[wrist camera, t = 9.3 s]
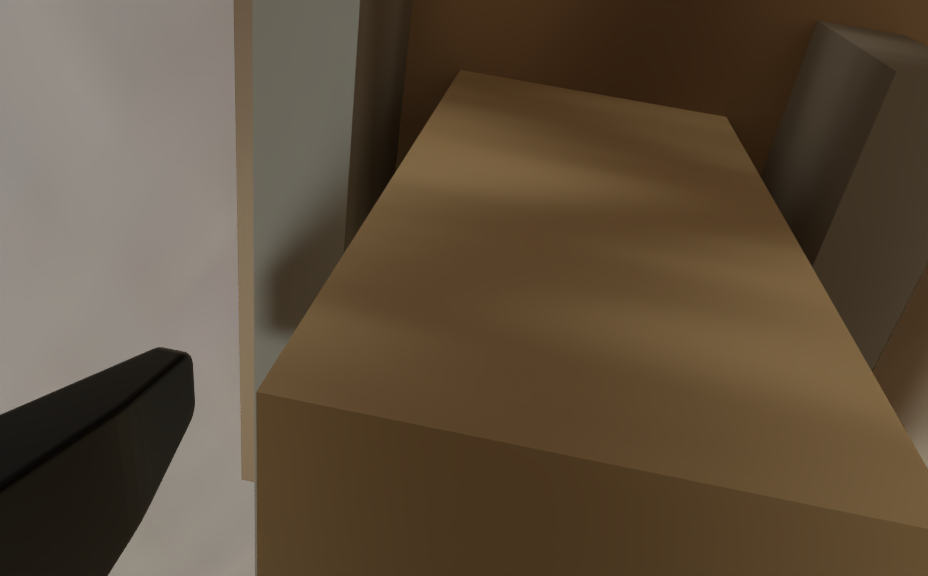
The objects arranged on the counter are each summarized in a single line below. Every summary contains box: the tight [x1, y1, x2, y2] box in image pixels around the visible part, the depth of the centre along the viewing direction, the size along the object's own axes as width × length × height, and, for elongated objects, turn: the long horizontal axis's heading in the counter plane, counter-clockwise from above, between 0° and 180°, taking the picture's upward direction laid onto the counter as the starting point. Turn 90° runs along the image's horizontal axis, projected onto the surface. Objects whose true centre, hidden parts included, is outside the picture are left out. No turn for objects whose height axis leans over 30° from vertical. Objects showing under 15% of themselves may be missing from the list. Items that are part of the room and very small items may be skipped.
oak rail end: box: [256, 70, 928, 576], centre depth 9 cm, size 4×7×8 cm, turn 172°
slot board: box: [234, 0, 928, 576], centre depth 12 cm, size 11×12×4 cm
